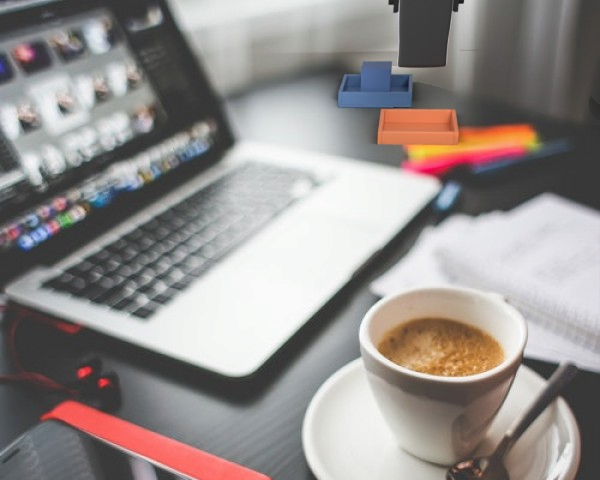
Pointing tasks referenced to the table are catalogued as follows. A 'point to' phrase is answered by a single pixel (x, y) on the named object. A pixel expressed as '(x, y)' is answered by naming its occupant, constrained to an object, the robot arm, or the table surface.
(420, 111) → the orange tray
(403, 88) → the blue tray
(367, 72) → the blue block
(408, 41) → the battery charger
